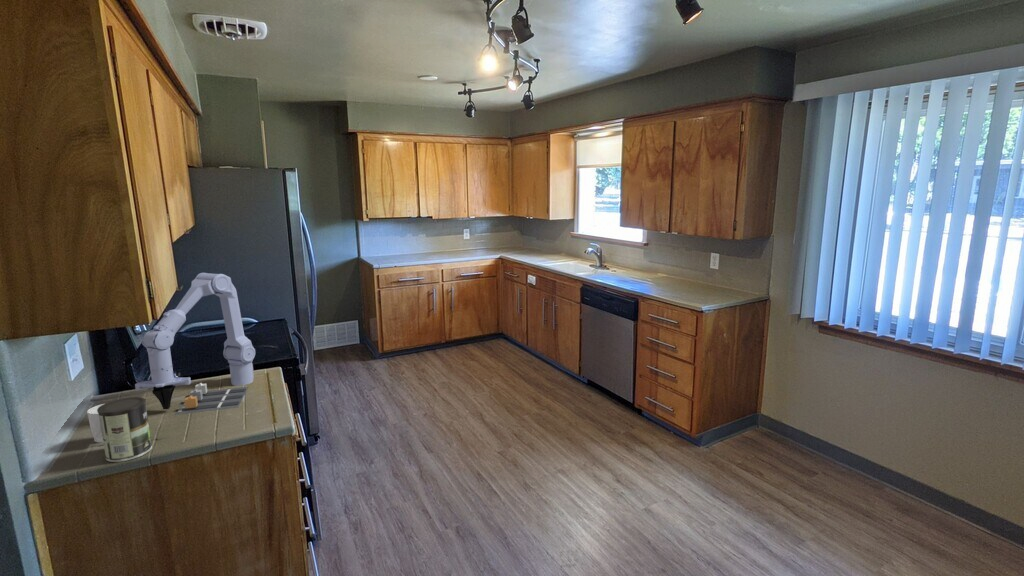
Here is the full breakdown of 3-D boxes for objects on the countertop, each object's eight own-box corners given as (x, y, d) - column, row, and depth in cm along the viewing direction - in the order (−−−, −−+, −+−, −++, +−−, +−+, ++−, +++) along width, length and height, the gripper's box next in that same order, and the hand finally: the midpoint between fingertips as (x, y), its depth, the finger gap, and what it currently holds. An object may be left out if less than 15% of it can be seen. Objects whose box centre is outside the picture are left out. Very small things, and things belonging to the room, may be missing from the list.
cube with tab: (197, 392, 173) (196, 383, 172) (207, 391, 174) (206, 382, 173) (195, 394, 171) (194, 385, 170) (205, 393, 172) (204, 384, 171)
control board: (191, 396, 175) (191, 392, 175) (248, 389, 180) (248, 386, 180) (174, 418, 157) (174, 414, 157) (238, 410, 163) (238, 406, 162)
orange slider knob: (187, 406, 162) (186, 395, 161) (197, 404, 163) (196, 394, 162) (185, 408, 160) (184, 398, 159) (196, 407, 161) (194, 397, 160)
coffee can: (148, 440, 143) (141, 393, 141) (155, 452, 136) (149, 404, 133) (102, 452, 136) (94, 404, 133) (108, 466, 129) (99, 415, 126)
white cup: (121, 431, 148) (116, 400, 146) (131, 439, 144) (126, 406, 142) (88, 442, 142) (82, 409, 140) (97, 450, 137) (92, 416, 136)
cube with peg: (192, 399, 167) (191, 389, 167) (202, 398, 168) (201, 388, 168) (190, 401, 165) (189, 391, 165) (201, 400, 166) (200, 390, 166)
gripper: (128, 374, 151) (135, 416, 153) (184, 369, 155) (189, 409, 158) (138, 366, 157) (143, 407, 160) (190, 362, 162) (195, 401, 164)
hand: (166, 408), depth 159 cm, fingers closed
